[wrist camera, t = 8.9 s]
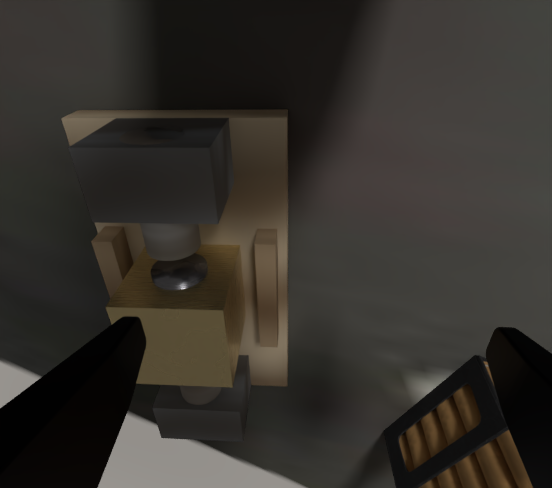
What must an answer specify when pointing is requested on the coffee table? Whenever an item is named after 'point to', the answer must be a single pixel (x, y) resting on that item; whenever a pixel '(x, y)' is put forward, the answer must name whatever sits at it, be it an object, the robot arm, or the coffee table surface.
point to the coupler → (186, 315)
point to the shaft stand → (195, 229)
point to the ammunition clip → (456, 437)
